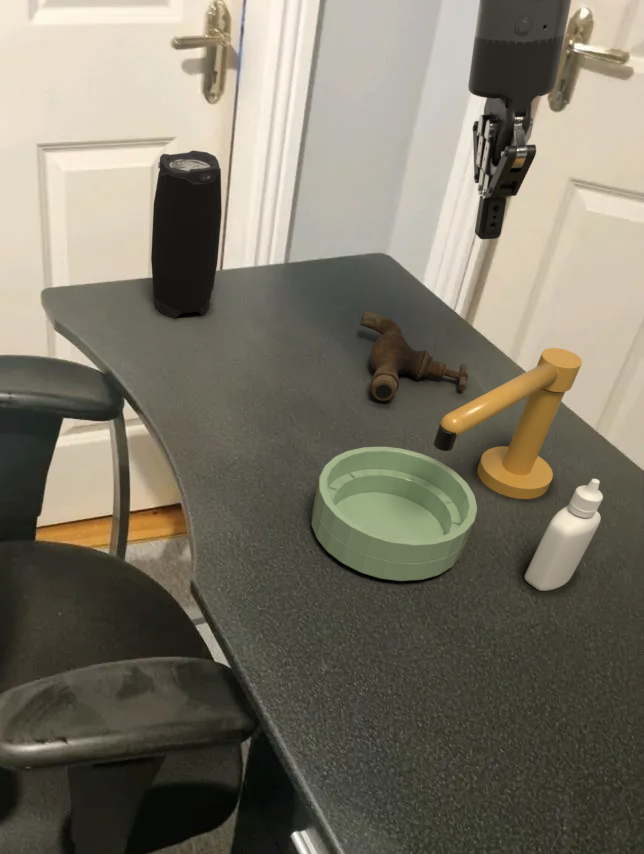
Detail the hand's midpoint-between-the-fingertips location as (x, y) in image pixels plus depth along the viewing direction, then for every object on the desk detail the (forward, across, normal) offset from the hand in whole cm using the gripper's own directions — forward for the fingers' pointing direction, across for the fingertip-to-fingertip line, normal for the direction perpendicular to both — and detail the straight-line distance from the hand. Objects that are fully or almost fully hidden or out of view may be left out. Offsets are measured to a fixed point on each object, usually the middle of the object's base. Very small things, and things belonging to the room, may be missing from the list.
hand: (486, 236), depth 85 cm
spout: (+13, -12, -1) cm, 18 cm away
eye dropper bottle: (+27, -22, -5) cm, 35 cm away
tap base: (+25, -5, -6) cm, 26 cm away
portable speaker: (+17, +30, +32) cm, 48 cm away
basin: (+24, -17, +11) cm, 31 cm away
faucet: (+22, +15, +3) cm, 27 cm away
